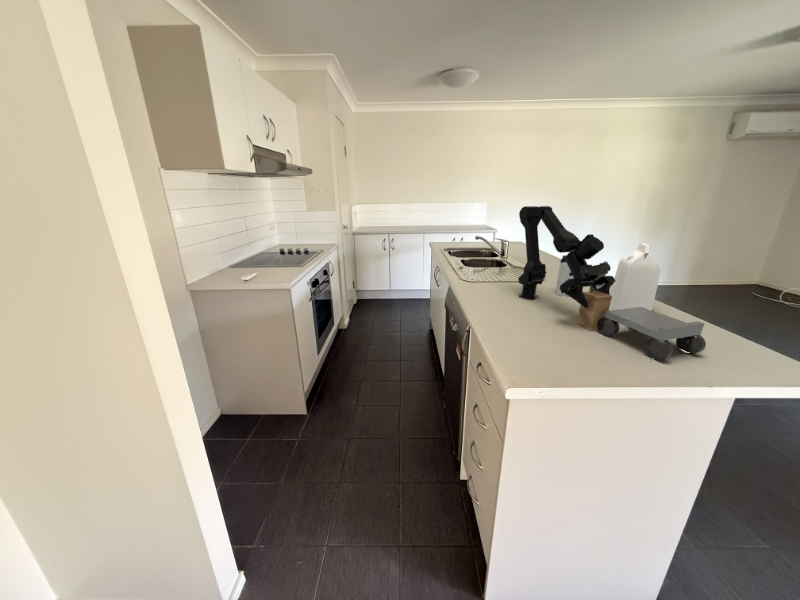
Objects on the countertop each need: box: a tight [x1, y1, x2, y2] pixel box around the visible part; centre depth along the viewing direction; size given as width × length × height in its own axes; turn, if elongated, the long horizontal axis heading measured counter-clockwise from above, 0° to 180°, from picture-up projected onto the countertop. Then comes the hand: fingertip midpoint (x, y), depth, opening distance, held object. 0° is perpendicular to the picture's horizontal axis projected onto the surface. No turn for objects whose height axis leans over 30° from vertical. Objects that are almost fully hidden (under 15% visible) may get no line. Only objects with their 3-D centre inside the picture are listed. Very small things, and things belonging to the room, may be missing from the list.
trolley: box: [597, 307, 707, 361], centre depth 96 cm, size 22×15×10 cm
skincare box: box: [555, 259, 574, 297], centre depth 141 cm, size 8×7×16 cm
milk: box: [609, 242, 662, 311], centre depth 121 cm, size 12×12×26 cm
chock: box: [576, 290, 612, 332], centre depth 107 cm, size 6×6×12 cm
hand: (598, 306), depth 106 cm, fingers open, 9 cm apart
